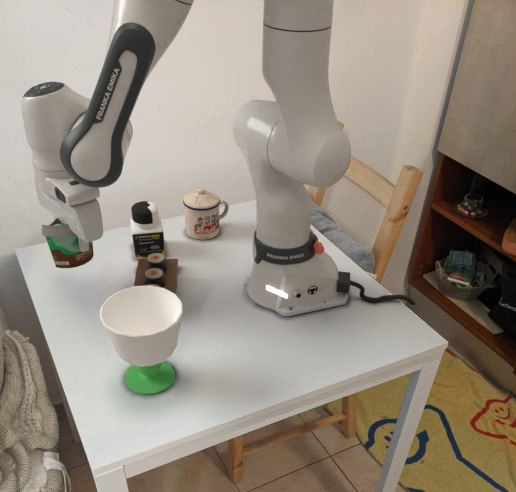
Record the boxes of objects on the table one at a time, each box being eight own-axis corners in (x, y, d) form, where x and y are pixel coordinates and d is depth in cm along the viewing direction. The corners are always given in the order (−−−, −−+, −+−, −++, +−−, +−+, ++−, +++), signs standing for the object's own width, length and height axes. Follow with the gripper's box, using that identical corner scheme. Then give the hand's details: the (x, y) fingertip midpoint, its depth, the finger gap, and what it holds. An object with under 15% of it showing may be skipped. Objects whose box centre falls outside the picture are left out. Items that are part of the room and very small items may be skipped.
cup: (196, 394, 99) (192, 326, 89) (118, 412, 95) (105, 343, 85) (178, 345, 109) (173, 279, 98) (107, 359, 105) (94, 292, 94)
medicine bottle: (135, 259, 131) (129, 213, 123) (133, 243, 136) (127, 199, 128) (165, 256, 132) (161, 211, 124) (162, 241, 137) (158, 196, 129)
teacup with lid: (194, 244, 137) (192, 200, 129) (178, 227, 142) (176, 185, 135) (236, 232, 142) (237, 190, 134) (220, 217, 147) (219, 175, 140)
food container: (78, 277, 109) (67, 231, 103) (51, 271, 111) (39, 226, 105) (110, 247, 118) (103, 204, 112) (86, 242, 120) (77, 199, 113)
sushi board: (178, 265, 129) (177, 247, 126) (174, 319, 115) (172, 300, 111) (139, 266, 129) (137, 247, 125) (130, 320, 114) (127, 301, 111)
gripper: (20, 162, 107) (36, 226, 116) (71, 202, 96) (85, 269, 105) (51, 154, 110) (64, 217, 119) (104, 192, 99) (114, 258, 108)
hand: (74, 241), depth 112 cm, fingers closed on food container, 6 cm apart
